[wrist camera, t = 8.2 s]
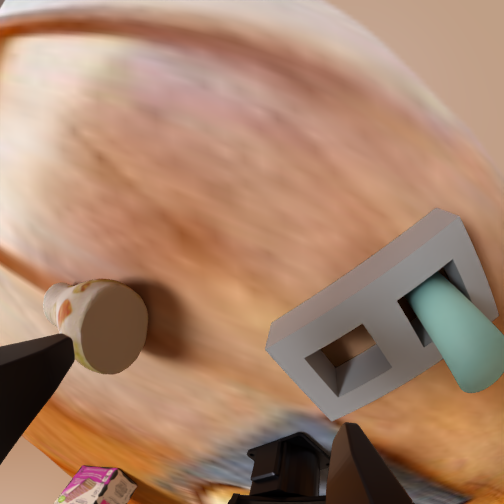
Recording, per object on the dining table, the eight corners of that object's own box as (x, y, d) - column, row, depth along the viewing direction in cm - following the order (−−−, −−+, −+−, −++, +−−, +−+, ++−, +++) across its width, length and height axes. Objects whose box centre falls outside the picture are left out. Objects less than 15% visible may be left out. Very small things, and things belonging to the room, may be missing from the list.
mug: (54, 260, 24) (11, 276, 15) (150, 271, 27) (150, 293, 18) (54, 335, 25) (19, 379, 15) (146, 346, 28) (147, 398, 18)
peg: (445, 287, 19) (515, 365, 9) (412, 311, 19) (466, 403, 10) (428, 255, 18) (505, 323, 9) (394, 280, 19) (450, 366, 10)
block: (477, 295, 18) (499, 315, 15) (330, 391, 22) (331, 421, 19) (436, 207, 17) (459, 216, 14) (271, 322, 22) (265, 349, 18)
